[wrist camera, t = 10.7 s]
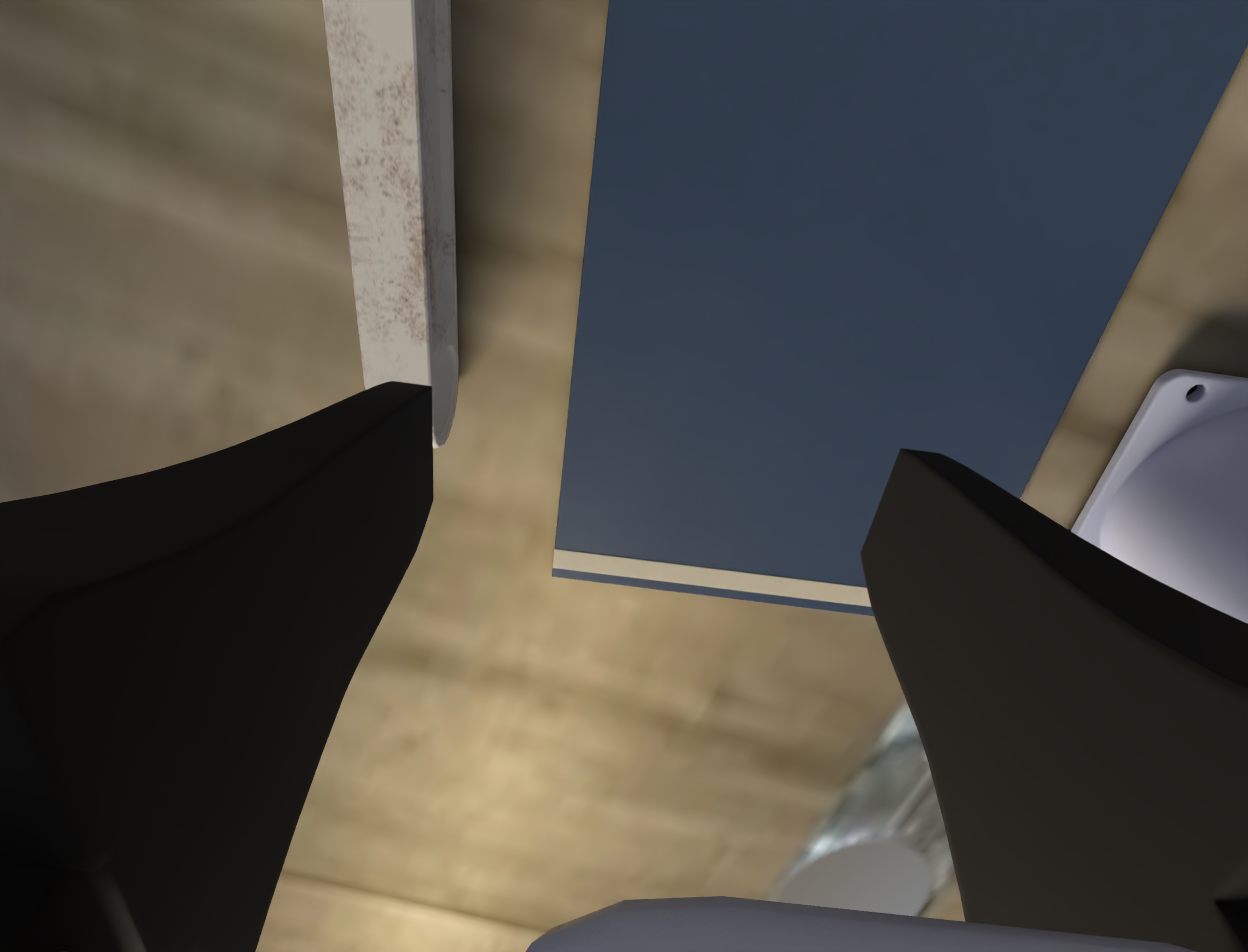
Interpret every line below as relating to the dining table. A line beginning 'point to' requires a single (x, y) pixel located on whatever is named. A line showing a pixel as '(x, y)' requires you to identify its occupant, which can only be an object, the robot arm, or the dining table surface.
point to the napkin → (852, 262)
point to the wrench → (399, 189)
